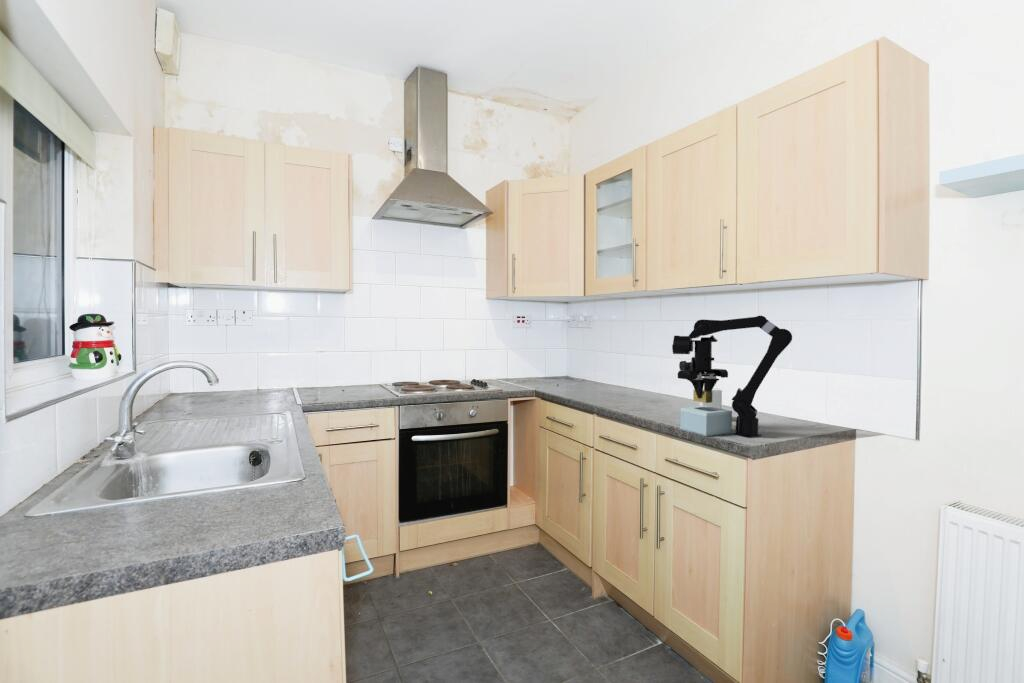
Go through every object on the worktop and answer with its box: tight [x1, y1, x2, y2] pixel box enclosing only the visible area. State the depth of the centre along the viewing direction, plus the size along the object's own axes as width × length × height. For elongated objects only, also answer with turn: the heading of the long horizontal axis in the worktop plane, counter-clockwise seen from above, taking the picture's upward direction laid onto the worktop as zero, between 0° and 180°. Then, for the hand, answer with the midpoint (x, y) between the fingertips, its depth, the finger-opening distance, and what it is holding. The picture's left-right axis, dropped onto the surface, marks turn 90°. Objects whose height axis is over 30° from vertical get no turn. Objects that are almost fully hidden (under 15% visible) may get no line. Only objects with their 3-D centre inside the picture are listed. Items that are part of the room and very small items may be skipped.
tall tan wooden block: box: [692, 389, 712, 403], centre depth 182 cm, size 3×6×4 cm, turn 24°
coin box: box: [679, 405, 733, 438], centre depth 181 cm, size 12×12×8 cm
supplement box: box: [698, 387, 723, 409], centre depth 203 cm, size 7×7×13 cm
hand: (702, 398), depth 182 cm, fingers closed on tall tan wooden block, 3 cm apart
